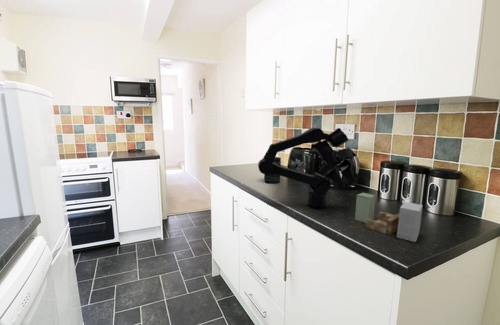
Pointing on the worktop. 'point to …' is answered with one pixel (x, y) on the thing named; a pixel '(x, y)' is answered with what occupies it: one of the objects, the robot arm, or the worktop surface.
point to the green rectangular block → (364, 207)
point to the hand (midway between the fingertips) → (349, 184)
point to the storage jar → (273, 178)
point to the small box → (409, 221)
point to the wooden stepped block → (384, 223)
